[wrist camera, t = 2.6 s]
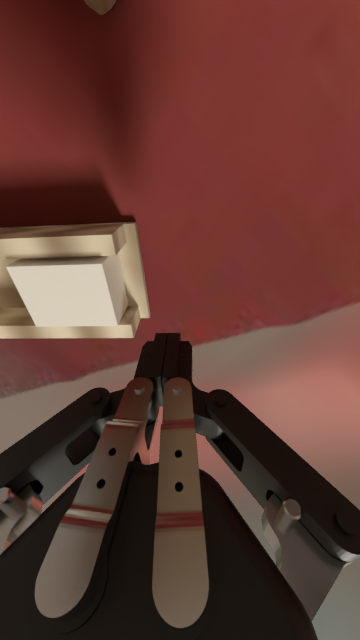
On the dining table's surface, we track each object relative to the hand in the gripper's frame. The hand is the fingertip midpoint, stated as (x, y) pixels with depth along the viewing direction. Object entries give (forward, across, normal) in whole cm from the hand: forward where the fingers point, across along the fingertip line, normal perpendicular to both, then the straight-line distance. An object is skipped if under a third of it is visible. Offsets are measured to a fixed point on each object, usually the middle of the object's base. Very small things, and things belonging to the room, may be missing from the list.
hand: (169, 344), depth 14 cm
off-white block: (+10, +10, 0) cm, 14 cm away
